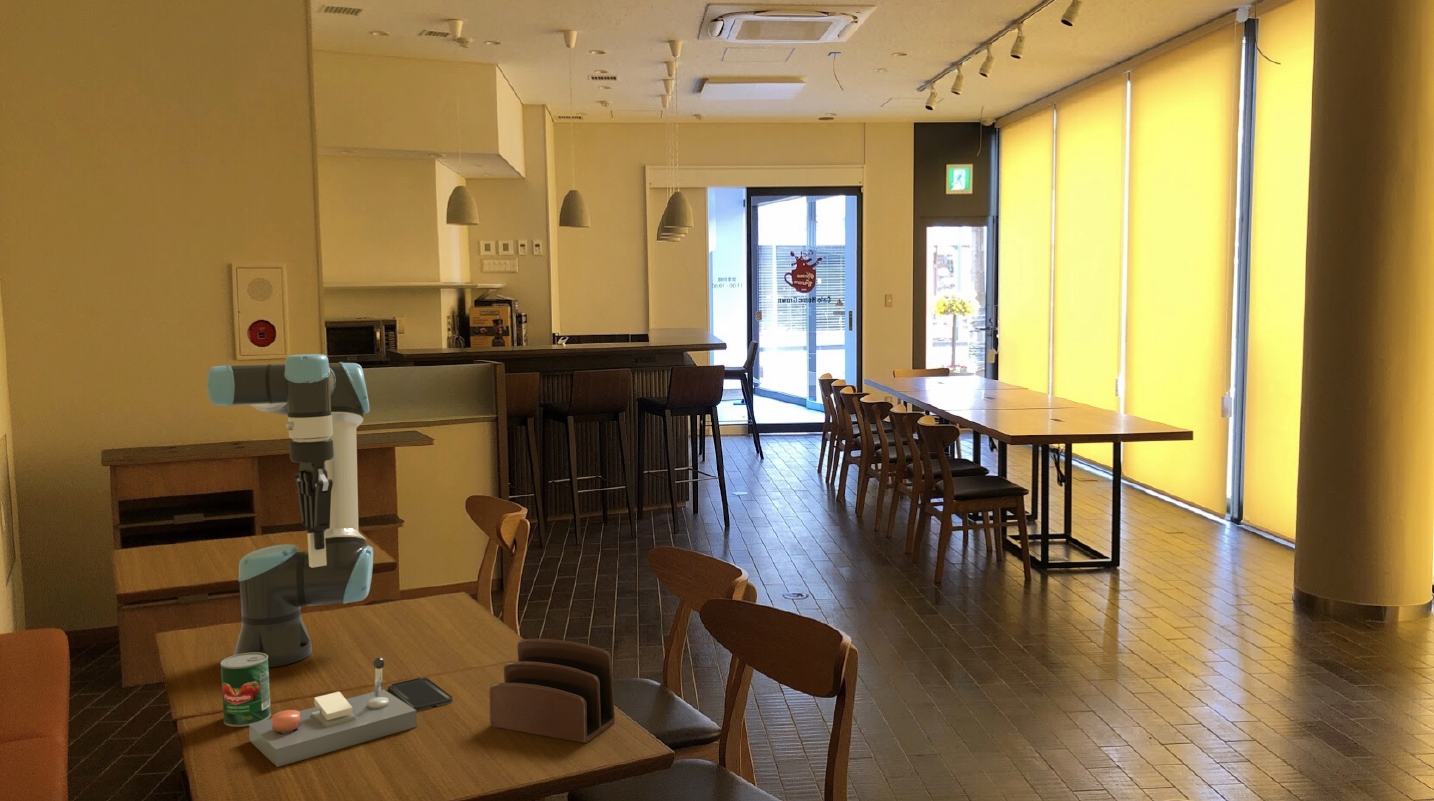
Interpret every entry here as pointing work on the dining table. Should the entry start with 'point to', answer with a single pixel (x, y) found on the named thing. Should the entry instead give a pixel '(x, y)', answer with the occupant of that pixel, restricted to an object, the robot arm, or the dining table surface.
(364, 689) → the dining table surface
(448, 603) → the dining table surface
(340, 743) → the control panel
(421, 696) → the phone
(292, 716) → the push button
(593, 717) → the letter holder
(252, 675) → the canned tomato
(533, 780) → the dining table surface
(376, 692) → the toggle lever
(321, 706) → the rocker switch
